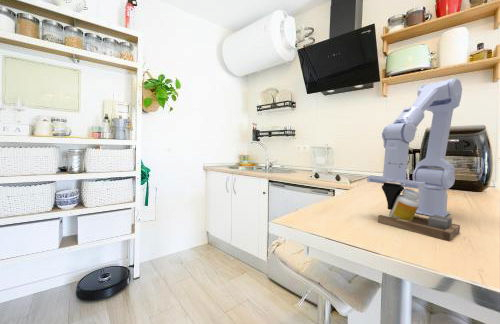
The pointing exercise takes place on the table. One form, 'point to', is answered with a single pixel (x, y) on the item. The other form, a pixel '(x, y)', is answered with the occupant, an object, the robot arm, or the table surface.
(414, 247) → the table surface
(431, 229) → the beam
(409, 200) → the supplement bottle
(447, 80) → the robot arm
